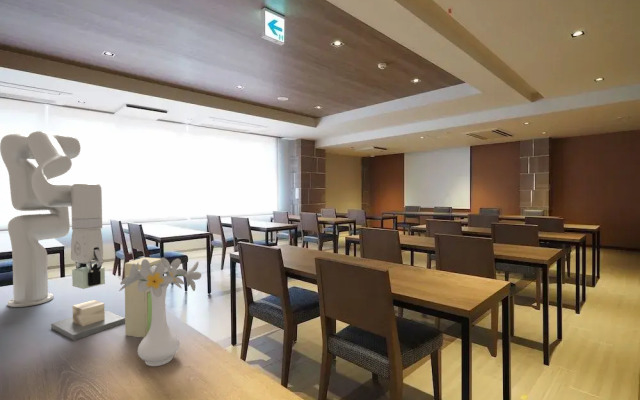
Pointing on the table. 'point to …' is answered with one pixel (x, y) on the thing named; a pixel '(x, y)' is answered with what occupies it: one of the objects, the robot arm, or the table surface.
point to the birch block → (88, 312)
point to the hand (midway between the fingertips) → (88, 282)
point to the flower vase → (159, 306)
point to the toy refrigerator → (138, 303)
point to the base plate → (78, 331)
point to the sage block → (84, 277)
